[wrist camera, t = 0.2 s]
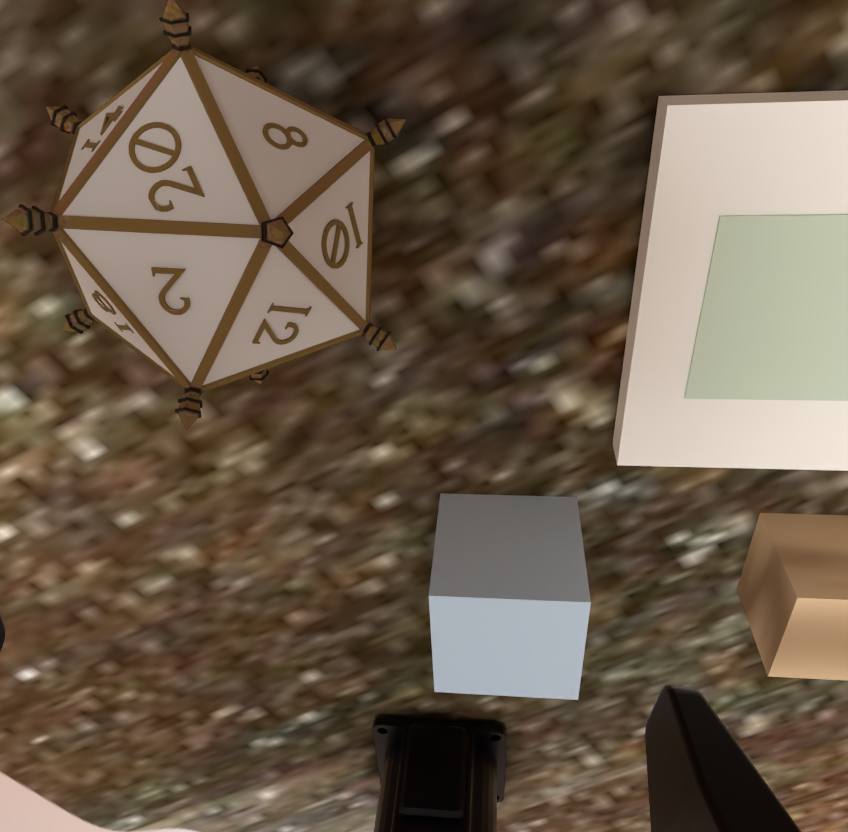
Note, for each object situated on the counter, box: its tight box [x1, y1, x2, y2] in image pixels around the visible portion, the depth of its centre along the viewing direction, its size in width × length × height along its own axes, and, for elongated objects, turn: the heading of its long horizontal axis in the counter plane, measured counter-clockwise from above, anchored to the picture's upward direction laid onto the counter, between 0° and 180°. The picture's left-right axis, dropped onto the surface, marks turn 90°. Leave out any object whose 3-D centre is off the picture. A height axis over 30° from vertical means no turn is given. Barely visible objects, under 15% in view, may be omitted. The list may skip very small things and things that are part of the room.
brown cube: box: [737, 513, 848, 680], centre depth 25 cm, size 4×4×4 cm
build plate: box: [612, 90, 848, 471], centre depth 20 cm, size 11×9×1 cm
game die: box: [2, 0, 406, 430], centre depth 17 cm, size 9×8×10 cm
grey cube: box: [429, 493, 591, 700], centre depth 25 cm, size 5×5×5 cm
